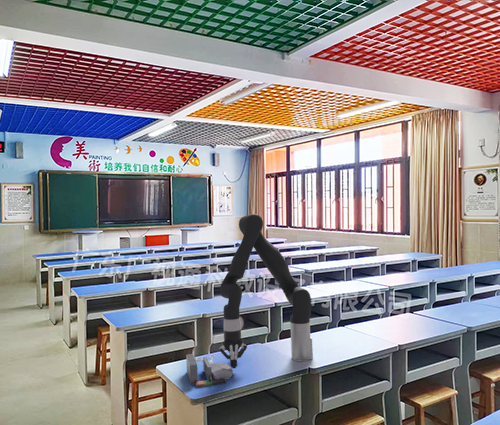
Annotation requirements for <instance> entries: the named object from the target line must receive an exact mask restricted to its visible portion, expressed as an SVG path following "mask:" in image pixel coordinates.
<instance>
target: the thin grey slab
mask: <svg viewBox="0 0 500 425" xmlns="http://www.w3.org/2000/svg"><path fill="white" fill-rule="evenodd" d="M202 359H203V361H202V362H203V363H202V364H203V371H204V374H205V377H206V380H211V381H212V380H213V379H212V374H211V365H210V363H209V361H210V360H209V359H208V357H207V356H205V357H204V356H203V357H202Z"/></svg>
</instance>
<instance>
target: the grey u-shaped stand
mask: <svg viewBox="0 0 500 425" xmlns="http://www.w3.org/2000/svg"><path fill="white" fill-rule="evenodd" d="M185 356H186V374H187V377H188V380H189V384H190V386H192V385H195V386H196V388H202V387H203V388H204V387H209V386H216V385H222V384H226V379H224V378H221V379H214V380H213V379H212V381H211V380H208V379H205V380H199V379H198V377H199V375H198V363H197V361H196V359H195V355H194V353H188V354H186V355H185Z"/></svg>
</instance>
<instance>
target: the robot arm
mask: <svg viewBox="0 0 500 425" xmlns="http://www.w3.org/2000/svg"><path fill="white" fill-rule="evenodd" d="M263 226H264V221H263V218H262V217H261V216H260V215H259V214H257V213H251V214H248V215H244V216H242V217H241V218H239V220H238V228H239V230H240V232H241V234H242V235H243V237H242V239H241V242H240V244H239V247H237V249H236V251H235V253H234V254H233V257H232V259H231V262H230V265H229V269H228V271H227V273H226V275H225V277H224V278H223V279H222V282H221V284H220V285H219V292H220V296H221V297H223V298H224V299H228V302H227V304H225V305H224V306H223V344H222V345H221V346H219V347H218V350H219V352H220V353H221V354H222V355H223V356H224V357H225V358H226V359H227V360H229V363H230V365H229V366H230V367H231V369H236V368H237V367H238V359H240V358H241V357H242V356H243V354H245V351H247V348H248V345H247V344H245V343H244V342H243V340H242V330H241V323H240V316H241V315H240V313H241V312H240V308H241V302H242V297H243V290H242V287H241V286H240V284H238V283H237V282H238V281H239V280H242V279H243V278H244V276H245V273H246V269H247V265H248V263H249V260H250V256H251V254H252V251H253V249H254V251H256V253H257V254H258V256H259V258H260V259H261V261H262V263H263V264H264V266H265V267H266V268H267V269H266V270H268V272H269V273H270V274H271V275H272V277H273V279H274V280H275V281H276V283H278V285H279V286H280V288H281V290H282V292H283V294H284V295H285V297H286V298H285V299H286V300H287V301H288V303H289V304H290V305H292V314H290V316H289V320H290V323H289V324H290V346H291V359H292V360H293V361H298V362H305V361H309V360H312V359H314V356H313V352H314V350H313V338H312V336H311V319H310V318H311V316H312V297H311V294H310V292H309V291H308V290H307V289H305V288H302V287H300V285H299V284H298V283H297V282H296V281H295V279H294V278H293V276H292V274H291V272H290V268H289V265H288V262H287V261H286V259H285V258H284V256H283V255H282V253H281V251H280V250H279V248H277V247H276V246H274V245H273V244H272V243H271V242H270V241H269V240H267V239H266V237H265V236H264V235H263V232H262V230H263ZM226 350H227V352H228V354H229V355H228V354H227V352H226Z"/></svg>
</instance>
